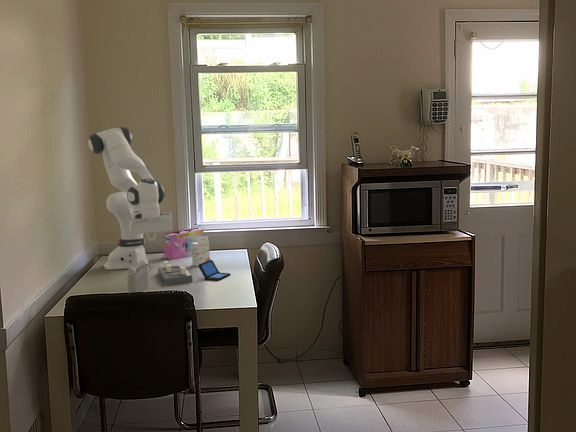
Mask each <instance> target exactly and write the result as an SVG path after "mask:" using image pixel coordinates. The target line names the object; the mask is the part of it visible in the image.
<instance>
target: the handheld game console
mask: <svg viewBox="0 0 576 432" xmlns="http://www.w3.org/2000/svg"><path fill="white" fill-rule="evenodd" d="M197 267H198V268H199V270H200V272H201V273H202V274H201V275H203V277H204V280H205V281H210V282H220V281H222V280H224V279H226V278H228V277H230V276H231V273H230V272H220V270H219V269H218V267H217V265H216V264H215V262H214V261H213V260H212V259H210V260H209V261H206V262H204V263H201V264H199V265H198V266H197Z"/></svg>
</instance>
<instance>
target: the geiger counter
mask: <svg viewBox="0 0 576 432" xmlns="http://www.w3.org/2000/svg"><path fill="white" fill-rule="evenodd" d="M144 264H145V262H144V261H143V260H141V261H140V262H139V263H137V264H136V265H134V267H131V268H128V270H127V277H126V278H127V289H128V290H127V291H128V293H129V292H143V291H146V290H147V289H148V288H149V289H150V284H149V273H150V272H151V271H152V266H151V265H149V263H148V264H145V265H144ZM148 267H149V268H150V269H149V270H148Z"/></svg>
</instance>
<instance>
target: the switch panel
mask: <svg viewBox="0 0 576 432" xmlns="http://www.w3.org/2000/svg"><path fill="white" fill-rule="evenodd" d="M180 267H185V266H184V264H180V265H178V264H177V265H171V269H172V272H167V271H166V269H164V266H163V267H162V266H161V267H158V268H157V274H158V276H159V277H160V279H161V280H162V281H163V283H164V284H165V286H171V285H179V284H187V283H193V275H192V273H191V272H190V271H189V270H188V269H186V274H185V275H182V274H181V268H180Z"/></svg>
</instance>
